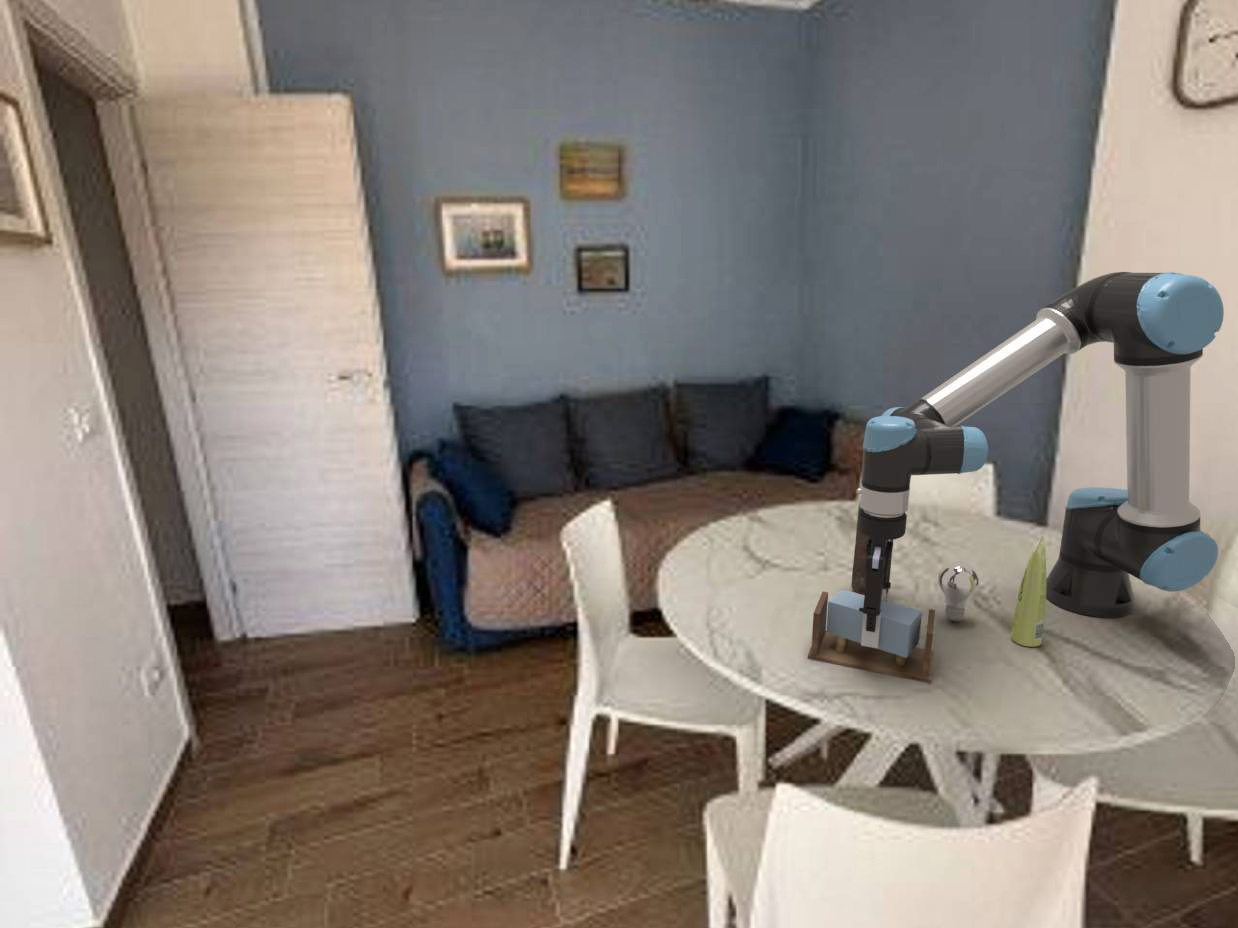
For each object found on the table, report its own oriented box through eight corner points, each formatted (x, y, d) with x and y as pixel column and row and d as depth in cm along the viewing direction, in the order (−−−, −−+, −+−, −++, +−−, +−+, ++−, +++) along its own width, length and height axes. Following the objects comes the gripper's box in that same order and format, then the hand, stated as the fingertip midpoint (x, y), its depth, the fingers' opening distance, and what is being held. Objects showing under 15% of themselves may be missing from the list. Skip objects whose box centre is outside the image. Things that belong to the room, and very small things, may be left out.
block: (840, 619, 134) (842, 589, 132) (918, 642, 125) (922, 611, 123) (826, 632, 129) (828, 601, 128) (906, 657, 121) (909, 625, 119)
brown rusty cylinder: (891, 603, 147) (899, 509, 141) (852, 600, 148) (859, 507, 143) (885, 586, 154) (893, 496, 149) (849, 584, 156) (855, 495, 150)
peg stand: (933, 653, 129) (938, 609, 126) (931, 682, 120) (936, 636, 117) (817, 631, 137) (820, 589, 134) (807, 658, 128) (810, 613, 126)
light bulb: (950, 632, 135) (957, 572, 132) (926, 615, 142) (932, 558, 139) (982, 626, 137) (989, 567, 134) (956, 609, 144) (963, 553, 140)
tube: (1002, 633, 135) (1015, 534, 129) (1028, 631, 135) (1042, 532, 130) (1021, 649, 129) (1036, 546, 124) (1048, 647, 130) (1064, 544, 124)
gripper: (866, 489, 131) (857, 604, 138) (850, 528, 113) (841, 658, 119) (911, 494, 128) (900, 611, 135) (902, 535, 110) (889, 668, 116)
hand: (872, 633), depth 127 cm, fingers open, 8 cm apart
